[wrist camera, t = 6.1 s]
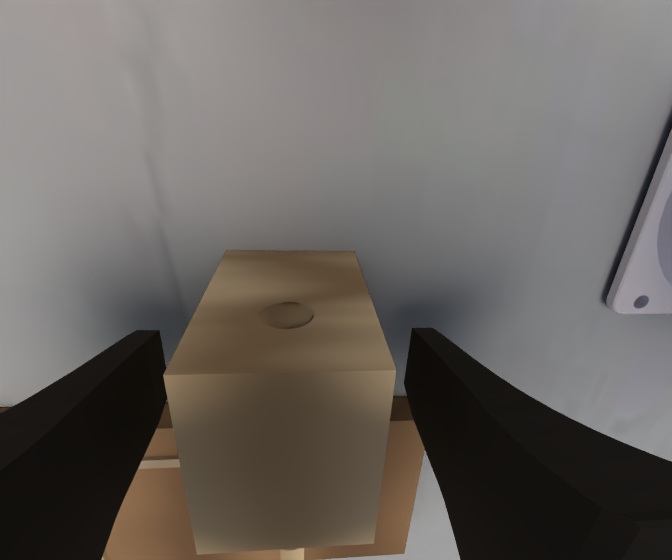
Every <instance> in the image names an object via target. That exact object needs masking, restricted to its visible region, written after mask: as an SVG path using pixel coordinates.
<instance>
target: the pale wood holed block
mask: <svg viewBox="0 0 672 560" xmlns="http://www.w3.org/2000/svg"><path fill="white" fill-rule="evenodd" d="M163 377H164V382H165V388H166V393H167V398H168V404H169V409H170V414H171V420H172V425H173V430H174V436H175V441H176V446H177V452H178V457H179V462H180V468H181V473H182V478H183V484H184V489H185V494H186V499H187V505H188V510H189V515H190V521H191V526H192V531H193V537H194V542H195V547H196V553H197V555H201V554H217V553H233V552H249V551H265V550H281V549H282V550H286V551H292V550H296V549H298V548H313V547H329V546H345V545H361V544H374V538H375V530H376V523H377V515H378V507H379V500H380V492H381V484H382V477H383V469H384V462H385V454H386V446H387V439H388V431H389V423H390V416H391V408H392V401H393V393H394V385H395V378H396V368H395V365H394V362H393V359H392V356H391V353H390V351H389V348H388V345H387V342H386V339H385V336H384V334H383V331H382V328H381V325H380V322H379V319H378V317H377V314H376V311H375V308H374V305H373V302H372V300H371V297H370V294H369V291H368V288H367V286H366V283H365V280H364V277H363V274H362V271H361V269H360V266H359V263H358V260H357V257H356V254H355V252H354V251H263V250H226V251H225V253H224V255H223V257H222V259H221V261H220V263H219V265H218V267H217V269H216V271H215V273H214V275H213V277H212V279H211V281H210V283H209V285H208V287H207V289H206V291H205V293H204V295H203V297H202V299H201V301H200V303H199V305H198V307H197V309H196V311H195V313H194V315H193V317H192V319H191V321H190V323H189V325H188V327H187V329H186V331H185V333H184V335H183V337H182V339H181V341H180V343H179V345H178V347H177V349H176V351H175V353H174V355H173V357H172V359H171V361H170V363H169V365H168V367H167V368H166V370H165V372H164V374H163Z"/></svg>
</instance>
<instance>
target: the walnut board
mask: <svg viewBox="0 0 672 560" xmlns="http://www.w3.org/2000/svg"><path fill="white" fill-rule="evenodd" d="M8 409H9V408H0V413H2V412H4V411H6V410H8ZM424 449H425V448H424V446H423V443H422V440H421V438H420V435H419V433H418V430H417V427H416V425H415V422H414V419H413V417H412V414H411V410H410V406H409V403H408V399H407V397H396V398H393V401H392V408H391V416H390V423H389V431H388V439H387V446H386V454H385V462H384V469H383V477H382V484H381V492H380V500H379V507H378V515H377V523H376V530H375V538H374V544H361V545H345V546H329V547H313V548H298V549H296V550H292V551H286V550H282V549H281V550H265V551H249V552H233V553H217V554H201V555H197V553H196V547H195V542H194V537H193V531H192V526H191V521H190V515H189V510H188V505H187V499H186V494H185V489H184V484H183V478H182V473H181V468H180V462H179V457H178V452H177V446H176V441H175V436H174V430H173V425H172V420H171V414H170V409H169V404H165V406H164V409H163V413H162V416H161V419H160V422H159V424H158V426H157V429H156V431H155V433H154V435H153V437H152V440H151V442H150V444H149V446H148V448H147V451H146V453H145V455H144V457H143V459H142V461H141V464H140V466H139V468H138V470H137V472H136V474H135V476H134V479H133V481H132V483H131V485H130V487H129V489H128V492H127V494H126V496H125V498H124V500H123V503H122V505H121V507H120V510H119V512H118V515H117V517H116V520H115V522H114V525H113V528H112V531H111V534H110V537H109V539H108V542H107V545H106V548H105V551H104V554H103V557H102V559H101V560H316V559H331V558H347V557H362V556H377V555H392V554H404V552H405V547H406V542H407V537H408V532H409V527H410V521H411V516H412V511H413V506H414V501H415V496H416V490H417V485H418V480H419V475H420V470H421V465H422V459H423V454H424Z"/></svg>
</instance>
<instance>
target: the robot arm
mask: <svg viewBox="0 0 672 560" xmlns="http://www.w3.org/2000/svg"><path fill="white" fill-rule="evenodd" d="M638 297H639V298H638ZM637 298H638V299H637ZM636 299H637V300H636ZM635 300H636V301H635ZM606 303H607V306H608V307H609V308H610V309H612V310H613V311H615V312H616V313H619V314H672V129H671V132H670V134H669V137H668V140H667V142H666V145H665V147H664V150H663V153H662V155H661V158H660V160H659V163H658V166H657V168H656V171H655V174H654V176H653V179H652V181H651V184H650V187H649V189H648V192H647V194H646V197H645V200H644V202H643V205H642V207H641V210H640V213H639V215H638V218H637V221H636V223H635V226H634V228H633V231H632V234H631V236H630V239H629V241H628V244H627V247H626V249H625V252H624V255H623V257H622V260H621V262H620V265H619V268H618V270H617V273H616V275H615V278H614V281H613V283H612V286H611V288H610V291H609V294H608V296H607V301H606ZM165 370H166V365H165V360H164V354H163V348H162V343H161V337H160V332H159V330H137V331H135V332H133V333H131V334H129V335H128V336H126V337H124V338H123V339H121V340H120V341H118V342H117V343H115V344H114V345H112V346H111V347H109V348H108V349H106V350H105V351H103V352H102V353H100V354H98V355H97V356H95V357H94V358H92V359H91V360H89V361H88V362H86V363H85V364H83V365H82V366H80V367H79V368H77V369H76V370H74V371H72V372H71V373H69V374H68V375H66V376H64V377H63V378H61V379H59V380H58V381H56V382H54V383H53V384H51V385H49V386H48V387H46V388H44V389H43V390H41V391H39V392H38V393H36V394H34V395H33V396H31V397H29V398H28V399H26V400H24V401H22V402H20V403H19V404H17V405H15V406H13V407H11V408H9V409H8V410H6V411H4V412H2V413H0V560H101V559H102V557H103V554H104V551H105V548H106V545H107V542H108V539H109V537H110V534H111V531H112V528H113V525H114V522H115V520H116V517H117V515H118V512H119V510H120V507H121V505H122V503H123V500H124V498H125V496H126V494H127V492H128V489H129V487H130V485H131V483H132V481H133V479H134V476H135V474H136V472H137V470H138V468H139V466H140V464H141V461H142V459H143V457H144V455H145V453H146V451H147V448H148V446H149V444H150V442H151V440H152V437H153V435H154V433H155V431H156V429H157V426H158V424H159V422H160V419H161V416H162V413H163V409H164V406H165V403H166V399H167V393H166V388H165V382H164V377H163V374H164V372H165ZM404 385H405V390H406V394H407V399H408V403H409V406H410V410H411V414H412V417H413V419H414V422H415V425H416V427H417V430H418V433H419V435H420V438H421V440H422V443H423V446H424V448H425V451H426V453H427V456H428V458H429V461H430V463H431V466H432V468H433V471H434V474H435V476H436V479H437V481H438V484H439V487H440V490H441V492H442V495H443V498H444V501H445V505H446V508H447V512H448V515H449V519H450V522H451V526H452V529H453V533H454V537H455V540H456V544H457V548H458V552H459V555H460V559H461V560H672V462H671V461H668V460H665V459H663V458H660V457H657V456H655V455H652V454H650V453H647V452H645V451H642V450H640V449H637V448H635V447H632V446H630V445H628V444H625V443H623V442H620V441H618V440H616V439H613V438H611V437H609V436H606V435H604V434H602V433H600V432H598V431H595V430H593V429H591V428H589V427H587V426H585V425H583V424H581V423H579V422H577V421H575V420H573V419H570V418H568V417H567V416H565V415H563V414H561V413H559V412H557V411H555V410H553V409H551V408H550V407H548V406H546V405H544V404H543V403H541V402H539V401H537V400H535V399H534V398H532V397H530V396H528V395H527V394H525V393H524V392H522V391H520V390H519V389H517V388H515V387H514V386H512V385H511V384H509V383H508V382H506V381H505V380H503V379H502V378H500V377H499V376H497V375H496V374H494V373H493V372H492V371H490V370H489V369H487V368H486V367H484V366H483V365H482V364H480V363H479V362H478V361H476V360H475V359H474V358H472V357H471V356H470V355H468V354H467V353H466V352H464V351H463V350H462V349H460V348H459V347H458V346H456V345H455V344H454V343H452V342H451V341H450V340H449V339H447V338H446V337H445V336H443V335H442V334H441V333H439V332H438V331H436V330H435V329H433V328H412V332H411V339H410V346H409V353H408V359H407V366H406V373H405V380H404Z"/></svg>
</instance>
